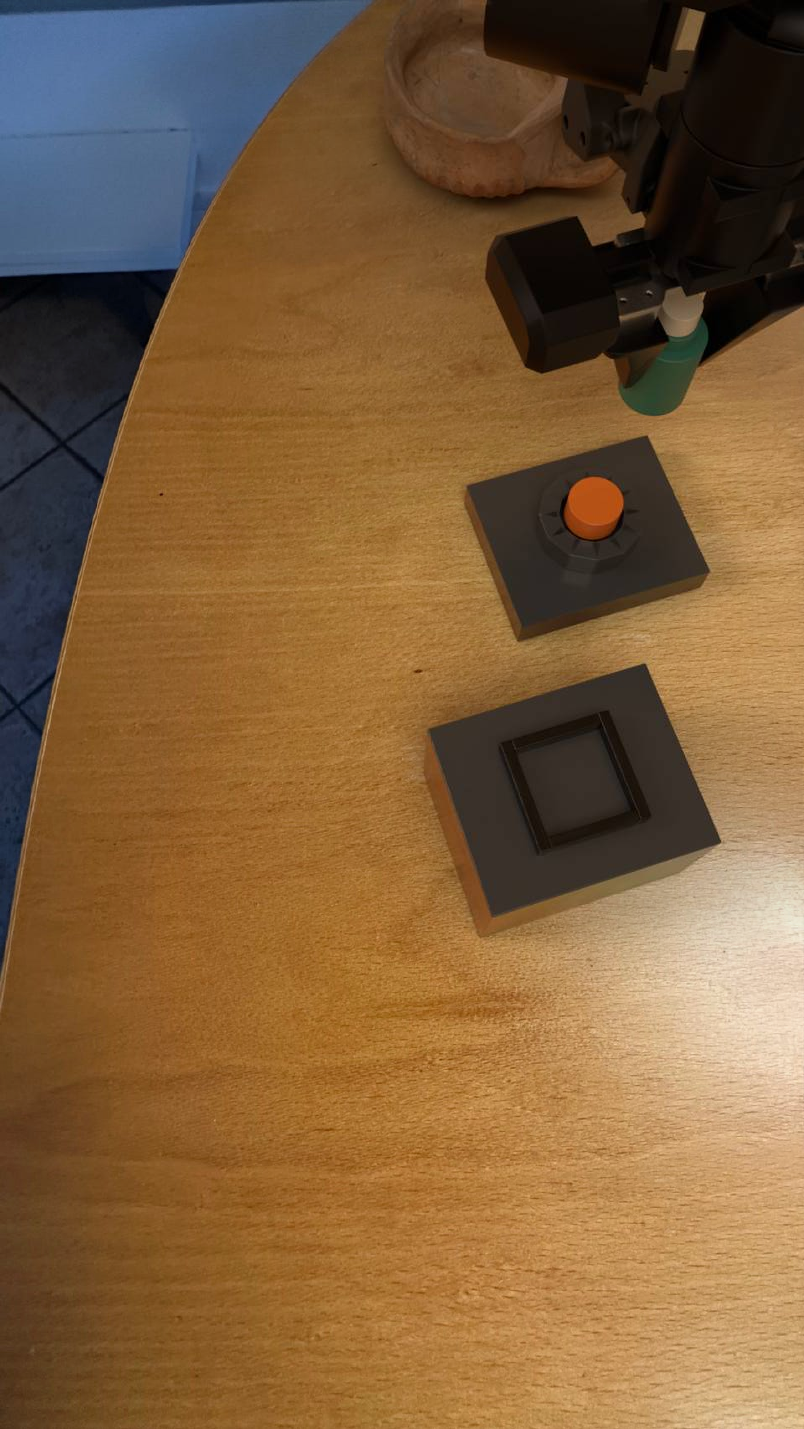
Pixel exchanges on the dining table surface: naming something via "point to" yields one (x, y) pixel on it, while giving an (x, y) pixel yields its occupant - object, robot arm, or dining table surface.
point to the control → (583, 540)
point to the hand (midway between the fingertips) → (659, 370)
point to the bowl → (474, 108)
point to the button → (593, 508)
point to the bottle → (671, 358)
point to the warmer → (565, 799)
